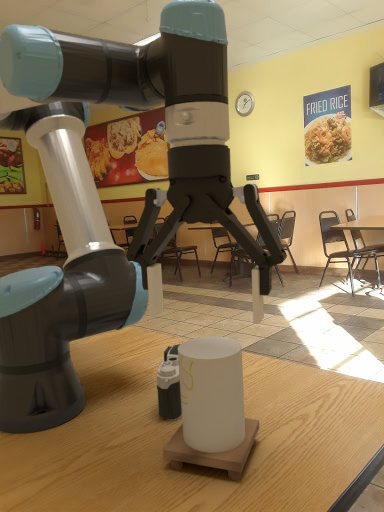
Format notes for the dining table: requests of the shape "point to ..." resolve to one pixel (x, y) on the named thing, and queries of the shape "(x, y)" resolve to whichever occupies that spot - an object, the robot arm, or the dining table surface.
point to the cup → (212, 393)
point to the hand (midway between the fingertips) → (205, 317)
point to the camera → (169, 385)
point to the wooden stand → (223, 460)
